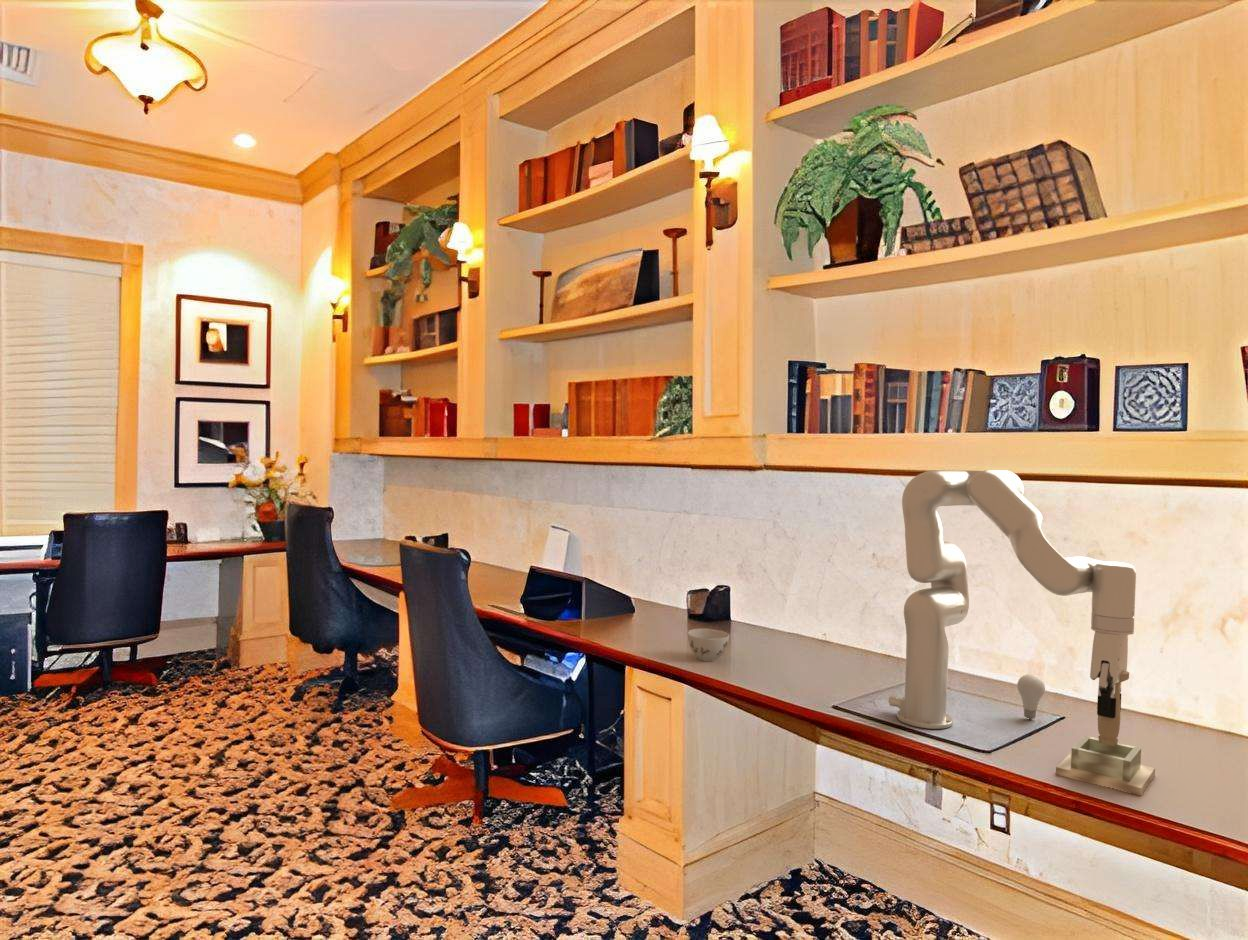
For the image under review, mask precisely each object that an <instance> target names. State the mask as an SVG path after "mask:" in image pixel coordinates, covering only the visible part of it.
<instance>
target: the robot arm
mask: <svg viewBox="0 0 1248 940" xmlns="http://www.w3.org/2000/svg"><path fill="white" fill-rule="evenodd" d="M1024 488H1025V487H1024V484H1023V482H1022V480H1021V478H1020V477H1019V476H1018V474H1015V473H1014V472H1012V471H1010V470H1005V469H985V470H969V469H968V470H966V469H965V470H964V469H963V470H959V469H955V470H954V469H952V470H950V469H949V470H948V469H947V470H946V469H935V470H928V471H924V472H922V473H918V474H917V475H916V476H914V477H912V479H910V480H909V481H908V483H907V484H906V486H905V488H904V490H903V493H902V498H901V505H902V506H901V508H902V516H903V522H904V537H905V541H904V542H905V553H906V554H905V555H906V567H907V572H908V575H909V577H910V578H911V579H913V581H915V582H917V583H920V584H930V587H928V588H922V589H919V590H916V591H914V592H913V593H911V594H910V595H909V596H908V597H907V598H906V600H905V602H904V605H903V606H904V607H903V617H904V625H905V635H906V636H905V637H906V640H905V641H906V643H905V647H906V649H905V671H904V672H905V673H904V674H905V677H904V696H903V697H902V698H901V697H898V696H896V695H889V697H888V704H889V706H891V707H896V708H898V709H899V710H898V711H897V713H896V717H897V720H898V721H900V722H902V723H904V724H906V725H909V726H913V727H917V728H922V729H929V730H930V729H932V730H939V729H940V730H942V729H947V728H950V727H952V726H953V724H954V719H953V717H951V715H949V714H947V702H948V701H947V697H948V678H949V677H948V675H949V673H948V672H949V643H948V642H949V641H948V637H947V634H946V627H950V626H951V627H952V626H954V625H957V624H960V623H961V622H963V621H964V620H965V618H967V616H968V613H969V608H970V597H969V583H968V582H969V581H968V570H967V569H968V568H967V561H966V559H965V555H964V552H963V551H962V550H961V549H960V547H958V546H957V545H956V544H954V543H953V542H949V541H944V537H943V524H942V520H941V518H940V515H939V513H938V511H937V509H938V508H939V507H953V506H955V507H956V506H976V507H977V508H978V509H979V510H980V511H981V512H982V513H983V514H984V515H985V516H987V518H988V519H989V520H990V521H991V522H992V523H993V524H994V525H995V526H996V527H997V528H998V529H999V530H1000V531H1001V532H1002V533H1003V534H1004V535H1005V536H1006V537H1007V538H1008V539H1009V541H1010V544H1011V547H1012V550H1013V551H1014V553H1015V555H1016V557H1017V559H1018V561H1019V562H1020V564H1021V565H1022V567H1023V568H1024V569H1025V570H1026V571H1027V572H1028V573H1029V575H1031V576H1032V577H1033V579H1035V581H1037V582H1038V583H1039V584H1040V585H1041V586H1042V587H1043V588H1044V589H1045V590H1047V591H1049V592H1050V593H1052V594H1054V595H1057V596H1062V597H1066V596H1072V595H1077V594H1084V593H1092V594H1091V614H1090V615H1091V618H1090V621H1091V622H1090V629H1091V630H1092V631H1094V634H1093V635H1094V636H1093V641H1092V648H1091V649H1092V651H1091V660H1090V661H1091V662H1090V673H1089V677H1090V679H1091V680H1092V681H1095V680H1097V679H1098V690H1097V691H1098V692H1097V703H1096V704H1097V707H1096V715H1097V716H1098V715H1099V716H1104V717H1109V718H1115V717H1116V698H1114V697H1115V685H1116V683H1117V682H1119V681H1120V675H1121V674H1122V673H1123V672H1124V671H1127V672H1128V669H1127V668H1128V655H1129V654H1128V652H1129V649H1128V646H1129V645H1128V644H1129V643H1128V642H1129V637H1128V636H1129V635H1134V633H1135V612H1136V611H1135V609H1136V607H1135V605H1136V588H1137V586H1136V584H1137V571H1136V568H1135V567H1134V565H1132V564H1130V563H1126V562H1119V561H1104V560H1099V559H1098V560H1097V559H1094V558H1091V557H1085V556H1073V557H1064V555H1062V554H1061V553H1059V552H1058V550H1057V549H1056V548H1054V546H1053V545H1051V543H1050V542H1049V541H1048V540H1047V538H1046V537H1045V535H1044V533H1043V531H1042V521H1043V515H1042V513H1041V511H1039V510H1038V509H1037V508H1036V507H1035V506H1034V505H1033V504H1032V503H1031V502H1030V501H1029V500H1027V498H1025V496H1024V492H1025V491H1024ZM1099 672H1100V675H1099V676H1098V674H1099ZM1098 677H1099V678H1098ZM1112 677H1113V679H1112ZM1108 678H1109V679H1112V682H1109V681H1108ZM1108 685H1111V688H1110V686H1108ZM1121 710H1122V682H1121V683H1120V713H1121Z"/></svg>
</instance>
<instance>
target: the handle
mask: <svg viewBox="0 0 1248 940" xmlns="http://www.w3.org/2000/svg"><path fill="white" fill-rule="evenodd" d="M1099 675H1100V672H1099V674H1098V676H1099ZM1097 679H1099V677H1098V678H1097ZM1112 679H1113V677H1112ZM1112 679H1109V678H1108V681H1109V682H1112ZM1129 679H1130V672H1129V671H1128V670H1127V671H1124V672H1123V673H1122V674H1121V675H1120V681H1119V682H1117V683H1116V685H1115V697H1114V698H1116V717H1115V718H1109V717H1104V716H1099V715H1097V731H1098V734H1099V735H1098V739H1099V742H1100V743H1103V744H1104V745H1110V746H1114V745H1117V743H1119V734H1120V729H1121V712H1120V683H1121V684H1122V683H1123V682H1126V681H1128V680H1129ZM1108 686H1110V688H1111V685H1108Z"/></svg>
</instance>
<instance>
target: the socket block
mask: <svg viewBox="0 0 1248 940" xmlns="http://www.w3.org/2000/svg"><path fill="white" fill-rule="evenodd" d="M1141 761H1142V747H1138V746H1134V745H1129V744H1124V743H1120V742H1118V743H1117V745H1114V746H1110V745H1104V744H1103V743H1100V742H1099V737H1098V738H1097V737H1093V736H1088V735H1084V736H1082V737H1081V738H1080V739H1079V741H1077V742H1076V743H1075V744H1074V745H1073V746H1071V752H1070V753H1068V755H1067V756H1065V757H1064V758H1063V760H1062V761H1060V763H1058V764H1057V765H1056V766H1055V775H1058V776H1061V777H1065V778H1069V779H1073V780H1076V781H1081V782H1085V783H1088V784H1092V785H1096V784H1097V785H1096V786H1100V785H1101V786H1100V787H1104V786H1105V787H1104V788H1108V787H1110V788H1109V789H1112V788H1114V789H1113V790H1116V789H1118V790H1117V791H1120V790H1123V791H1122V792H1124V791H1126V792H1125V793H1128V792H1130V793H1129V794H1132V793H1133V795H1136V794H1137V795H1136V796H1140V795H1141V796H1142V795H1143V793H1144V792H1145V791H1146V789H1147V787H1148V786H1149V785H1150V783H1151V782H1152V780H1153V779H1154V777H1155V775H1156V768H1155V767H1152V766H1147V765H1143V764H1141Z"/></svg>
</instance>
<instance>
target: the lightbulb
mask: <svg viewBox="0 0 1248 940" xmlns="http://www.w3.org/2000/svg"><path fill="white" fill-rule="evenodd" d="M1016 686H1017V687H1016V688H1017V691H1018V693H1019V695H1020V697H1021V700H1022V706H1023V716H1024V717H1025V718H1026V719H1027V718H1029V719H1032V720H1033V719H1036V716H1037V710H1038V707H1039V706H1038V705H1039V702H1040V700H1041V699H1042V697H1043V695H1044V694H1045V693H1046V686H1045V683H1044V681H1043V679H1042V678H1041V677H1039V676H1038V675H1035V674H1032V673H1031V674H1030V673H1028V674H1024V675H1022V676H1021V677H1019V679H1018V681H1017V684H1016ZM1029 719H1028V720H1029Z"/></svg>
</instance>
